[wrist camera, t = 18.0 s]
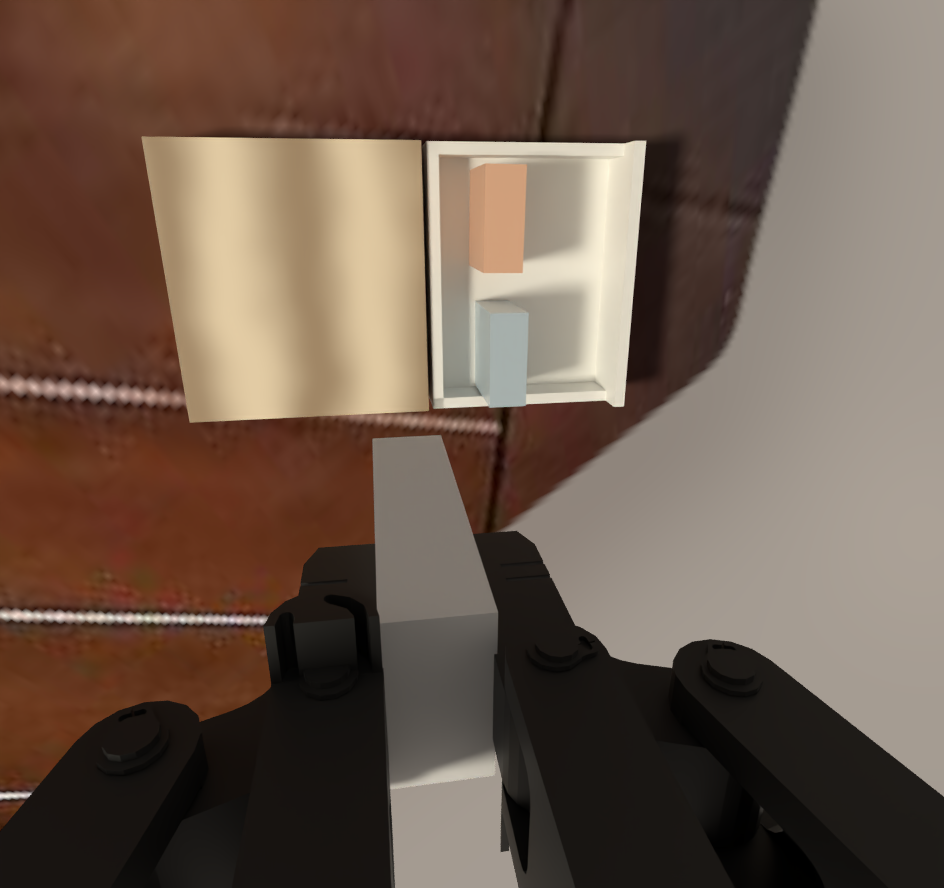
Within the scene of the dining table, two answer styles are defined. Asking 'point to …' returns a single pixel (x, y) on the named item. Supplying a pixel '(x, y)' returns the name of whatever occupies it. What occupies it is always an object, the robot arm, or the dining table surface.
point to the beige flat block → (293, 274)
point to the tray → (538, 267)
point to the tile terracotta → (497, 217)
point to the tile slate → (501, 352)
